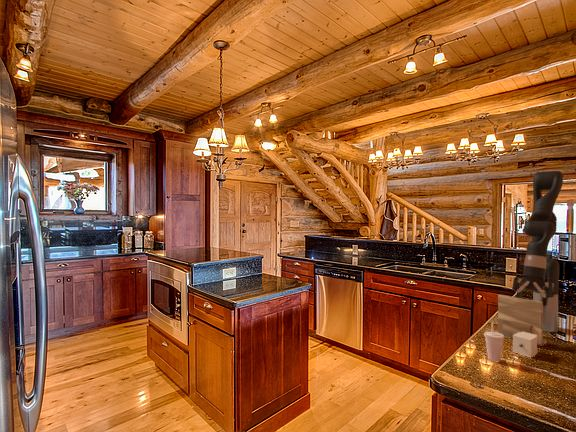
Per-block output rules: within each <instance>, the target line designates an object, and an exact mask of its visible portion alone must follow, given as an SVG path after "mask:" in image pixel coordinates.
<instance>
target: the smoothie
mask: <svg viewBox="0 0 576 432" xmlns="http://www.w3.org/2000/svg"><path fill="white" fill-rule="evenodd" d="M484 337H485V346H486V352H487V359H488V360H489V359H490V360H492V361H500V362H501V358H502V351H503V344H504V340H505V337H504V335H503V334H501V333H498V331H494V321H491V330H490V331H487V330H486V331H485V332H484ZM490 360H489V361H490ZM492 361H491V362H492Z"/></svg>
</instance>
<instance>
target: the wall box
mask: <svg viewBox="0 0 576 432" xmlns="http://www.w3.org/2000/svg"><path fill="white" fill-rule="evenodd" d="M537 339H538V335H535V334H531V333H527V332H518V333H516V334H514V335H513V339H512V353H513V352H515V353H518V354H520V355H519V356H521V355H523V356H522V357H524V356H527V357H530V358H529V359H532V358H531V357H533V356H534V357H536V356H537V355H538V346H537ZM518 354H517V355H518ZM536 354H537V355H536ZM535 355H536V356H535ZM527 357H526V358H527ZM534 357H533V358H534Z"/></svg>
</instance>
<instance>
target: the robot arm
mask: <svg viewBox="0 0 576 432" xmlns="http://www.w3.org/2000/svg"><path fill="white" fill-rule="evenodd" d="M563 183H564V178H563V174H562V172H561V171H560V170H546V171H537V172H535V173H534V174H533V178H532V196H533V198H532V199H533V201H532V202H533V207H532V208H533V209H532V213H531V215H530V217H529V218H528V219H527V221H526V222H525V223H524V226H523V232H524V234H525V235H526V236H527V237H531V241H530V242H527V245H526V253H525V258H524V263H523V265H524V266H523V272H522V273H523V274H522V278H520V277H518V276H514V278H513V282H512V287H511V288H512V291H514V292H516V297H517V298H522V299H523V292H524V291H526V290H532V291H533V293H532V296H533V298H532V300H533V301H539V302H543V332H548V333H557V332H558V331H559V280H560V264H559V261H557V259H554V258H553V259H552V258H551V259H550V258H547V254H548V248H549V244H550V243H551V239H553V237H554V236H555V234H556V232H557V226H558V225H557V222H558V221H557V215H556V214H555V212H554V207H555V203H556V201H557V199H558V197H559V194H560V192H561V190H562V188H563V187H562V186H563ZM543 191H547V192H546V193H545V194H544V195H543ZM546 280H547V282H546ZM520 283H522V284H521V286H520V287H519V284H520Z"/></svg>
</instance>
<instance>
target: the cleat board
mask: <svg viewBox="0 0 576 432" xmlns="http://www.w3.org/2000/svg"><path fill="white" fill-rule="evenodd" d="M518 332H527V333H531V334H535V335H538V339H537V345H539V346H538V347H540V346H542V345H543V346H545V345H547V344H546V343H548V341H547V340H545V339H544V331H543V302H539V301H533V299H527V298H523V297H522V298H517V296H511V295H505V294H498V295H497V333H501V334H503V335H504V336H506V337H505V338H507V337H510V338H509V339H511V338H513V335H514V334H516V333H518ZM544 344H545V345H544ZM543 346H542V347H543Z"/></svg>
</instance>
